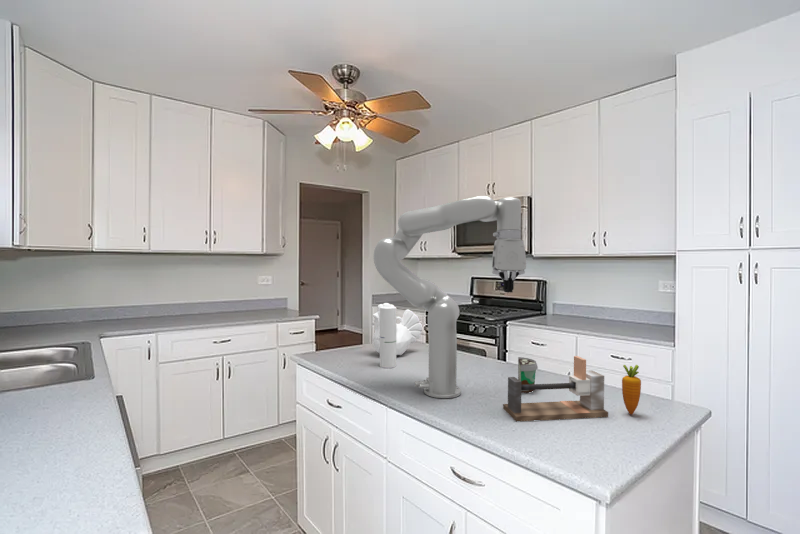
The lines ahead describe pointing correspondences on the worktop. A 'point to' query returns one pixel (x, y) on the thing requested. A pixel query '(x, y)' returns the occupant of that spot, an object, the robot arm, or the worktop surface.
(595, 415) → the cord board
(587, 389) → the sleeve
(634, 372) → the carrot
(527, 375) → the food container
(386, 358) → the cylindrical container
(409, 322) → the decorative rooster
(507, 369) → the worktop surface
